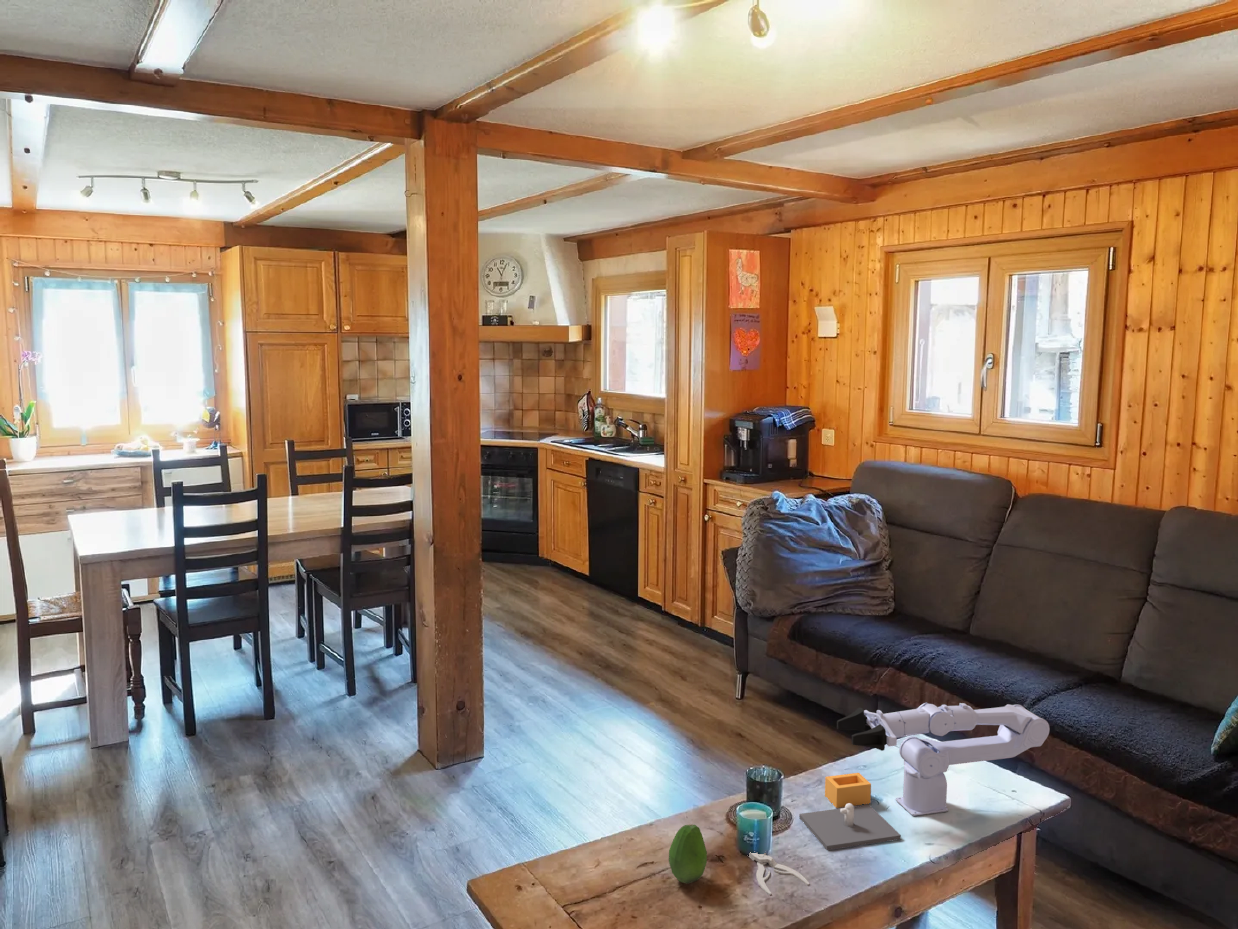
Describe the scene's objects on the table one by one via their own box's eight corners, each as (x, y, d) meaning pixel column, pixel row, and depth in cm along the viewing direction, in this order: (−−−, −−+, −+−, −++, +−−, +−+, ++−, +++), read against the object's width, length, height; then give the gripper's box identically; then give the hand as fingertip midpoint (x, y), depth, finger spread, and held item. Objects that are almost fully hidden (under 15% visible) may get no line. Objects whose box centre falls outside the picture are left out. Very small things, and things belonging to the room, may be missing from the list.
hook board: (869, 808, 212) (869, 784, 211) (900, 839, 199) (901, 814, 198) (799, 818, 208) (799, 793, 207) (826, 850, 194) (827, 824, 194)
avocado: (714, 880, 184) (715, 826, 182) (688, 896, 178) (688, 840, 177) (686, 864, 189) (686, 811, 188) (660, 878, 184) (660, 824, 183)
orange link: (858, 791, 220) (858, 772, 220) (870, 803, 214) (871, 784, 214) (824, 796, 218) (825, 776, 217) (836, 808, 212) (836, 788, 212)
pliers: (768, 890, 178) (732, 851, 192) (768, 897, 178) (732, 858, 192) (810, 879, 182) (772, 842, 196) (810, 886, 182) (771, 848, 196)
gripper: (883, 695, 215) (831, 703, 213) (914, 722, 201) (859, 730, 199) (883, 723, 217) (831, 730, 214) (914, 751, 203) (859, 759, 200)
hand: (844, 732), depth 207 cm, fingers open, 7 cm apart
